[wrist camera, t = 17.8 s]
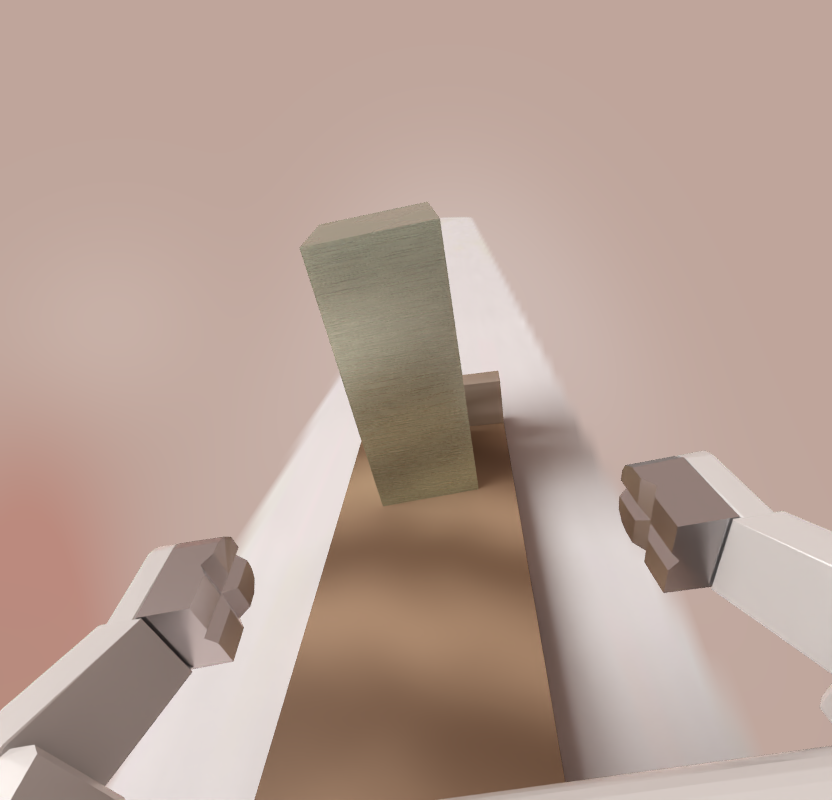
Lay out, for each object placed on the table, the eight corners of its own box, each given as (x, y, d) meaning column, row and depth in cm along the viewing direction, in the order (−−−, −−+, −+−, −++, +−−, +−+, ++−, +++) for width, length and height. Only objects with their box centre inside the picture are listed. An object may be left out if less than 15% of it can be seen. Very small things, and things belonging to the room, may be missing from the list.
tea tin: (478, 489, 21) (439, 218, 14) (382, 506, 21) (299, 247, 15) (462, 430, 25) (427, 201, 19) (383, 445, 26) (319, 224, 19)
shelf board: (625, 1161, 8) (651, 1203, 6) (195, 1086, 9) (80, 1096, 7) (501, 417, 28) (496, 363, 26) (372, 431, 29) (357, 380, 27)
